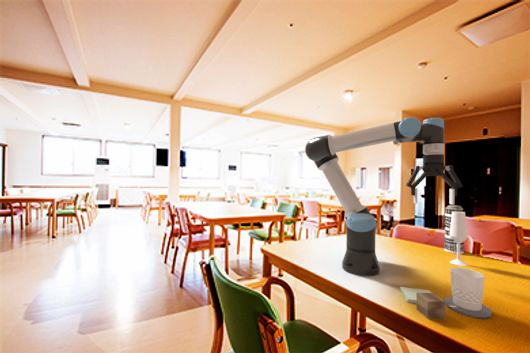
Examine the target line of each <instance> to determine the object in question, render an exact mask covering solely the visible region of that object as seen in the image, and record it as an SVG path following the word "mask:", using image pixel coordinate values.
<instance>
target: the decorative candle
mask: <svg viewBox="0 0 530 353" xmlns="http://www.w3.org/2000/svg"><path fill="white" fill-rule="evenodd" d="M444 208H445V209H444V210H445V213H444V215H443V218H442V219H443V220H444V221H443V226H444V227H443V229H444V230H445V231H444V232H445V233H444V236H443V239H444V241H443V242H444V244H443V245H444V246H443V248H444V252H447V253H451V254H457V242H455V241H454V240H453V239H452V238H451V237H450V235H449V234H450V225H451V217H452V212H453V211H455V212H464V211H463V210H464V208H463V207H462V206H461V205H455V204H454V205H452V204H449V205H447V206H446V207H444ZM464 244H465V243H464V241H463V242H461V243H460V255H461V254H463V255H464V251H465V249H464V248H465V246H464Z"/></svg>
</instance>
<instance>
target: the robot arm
mask: <svg viewBox="0 0 530 353" xmlns="http://www.w3.org/2000/svg"><path fill="white" fill-rule="evenodd" d="M445 128H446V127H445V122H444V119H443V118H441V117H430V118H426V119H424V120H423V122H422V123H421V121H420V120H419V119H418V118H417V117H413V116H408V117H405V118H404V119H402V120H399V121H396V122H390V123H386V124H383V125H382V124H381V125H378V126H372V127H367V128H363V129H359V130H355V131H350V132H345V133H341V134H337V135H331V134H327V135H322V136H316V137H312V138H310V139H309V141H308V142H306V145H305V147H304V150H305V151H304V152H305V155H306V157H307V158H308V159H309V160H311V161H313V163H314V164H315V166H316V168H317V169H318V170H319V171H322V172H323V175H324V176H325V178H326V179H327V182H328V183H329V185H330V187H331V189H332V190H333V192H334V194H335V196H336V198H337V199H338V201H339V203H340V205H341V207H342V209H343V210H344V212H345V214H344V219H345V220H346V221H345V224H346V248H345V249H346V250H345V253H344V256H343V260H342V262H341V263H342V264H341V266H342V269H343V270H344V271H346V272H347V273H350V274H352V275H353V274H354V275H358V276H364V277H372V276H377V275H379V274H380V273H381V272H380V270H381V267H380V264H379V260H378V257H377V254H376V233H377V230H378V222H377V219H376V218H375V216H374V215H372V213H371V212H370V211H369V209H368V207H367V206H366V205H363V204H362V203H361V200H360V199H359V198H358V196H357V194H356V192H355V190H354V189H353V187H352V185H351V183H350V182H349V180H348V179H347V176H346V175H345V173H344V171H343V170H342V167H341V166H340V165H339V156H338V155H337V153H339V152H345V151H350V150H354V149H360V148H364V147H369V146H370V147H371V146H376V145H379V144H384V143H390V142H392V143H395V144H402V143H405V144H406V143H415V142H416V143H418V142H422V154H423V156H422V166H420V165H415V166H414V168H413V172H412V174H411V176H409V179H408V182H406V185H405V186H406V187H409V188H410V195H411V196H413V204H418V188H417V186H418V185H419V184H420V183H422V181H424V179H425V178H427V177H440V178H441V179H442V180H443V181H445V183H446V184H447V185H448V186H449V191H448V192H449V196H448V198H449V202H448V203H449V205H455V197H456V198H457V196H458V189H460V188H463V184H462V182H461V180H460V179H459V177H458V176H457V173H456V172H455V171H454V165H445V155H444V154H445ZM421 170H422V171H423V172H422V174H421V175H420V176H419V177H418V178H417V179H416V177H417V176H418V174H419V172H420V171H421ZM445 170H446V171H447V173H448V175H449V176H450V177H451V179H452V180H451V179H450V178H449V177H448V175H447V174H446V173H445V172H444V171H445ZM415 179H416V180H415Z"/></svg>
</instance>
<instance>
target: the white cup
mask: <svg viewBox="0 0 530 353" xmlns="http://www.w3.org/2000/svg"><path fill="white" fill-rule="evenodd" d="M450 283H451V293H452V297H453V303H454V304H455V305H457V306H459V307H461V308H464V309H467V310H472V311H480V310H482V304H483V298H484V286H485V275H484V274H483V273H482V272H479V271H476V270H473V269H470V268H464V267H452V268H450Z"/></svg>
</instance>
